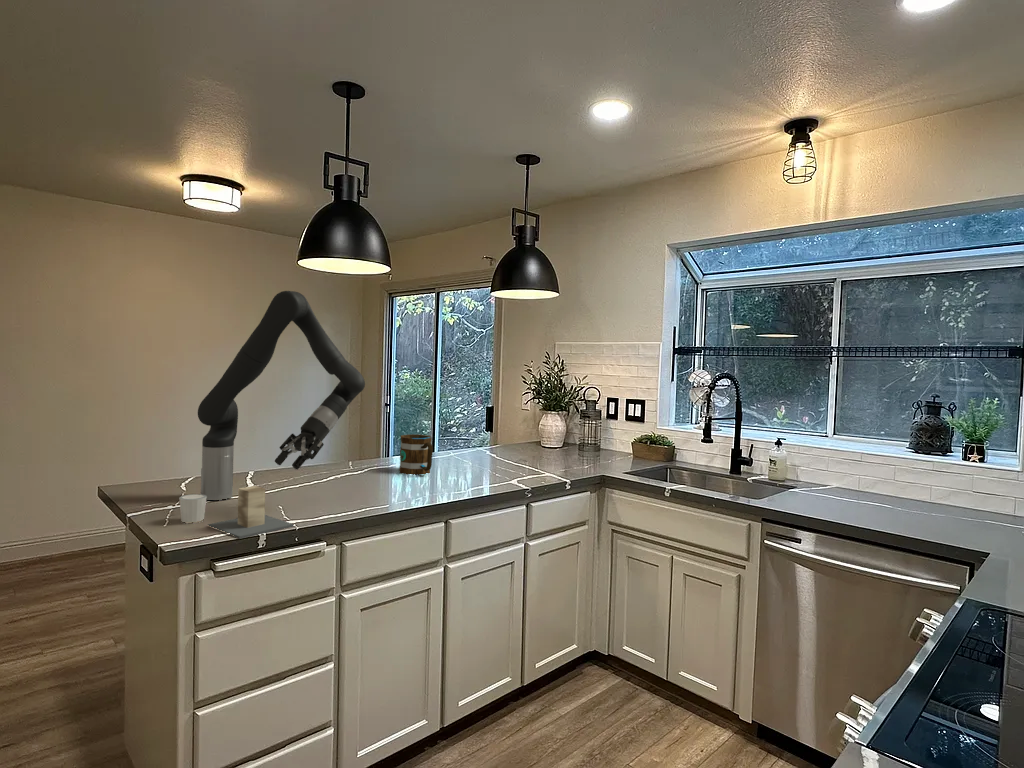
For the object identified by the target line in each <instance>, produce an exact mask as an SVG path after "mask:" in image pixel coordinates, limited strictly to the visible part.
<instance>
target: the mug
mask: <svg viewBox="0 0 1024 768" xmlns="http://www.w3.org/2000/svg"><path fill="white" fill-rule="evenodd" d="M399 449H400V451H399V456H400V457H399V460H400V461H399V469H398V470H399V471H400V472H399V471H398V472H399V474H402V473H404V475H408V474H413V475H412V476H420V475H419V474H424V475H427V474H426V473H428V474H430V473H431V468H432V465H433V464H432V462H433V452H434V451H433V450H434V447H433V445H432V436H431V435H426V434H409V433H408V434H402V435H400V448H399ZM414 474H415V475H414ZM417 474H418V475H417Z"/></svg>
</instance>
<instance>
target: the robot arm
mask: <svg viewBox="0 0 1024 768" xmlns="http://www.w3.org/2000/svg"><path fill="white" fill-rule="evenodd" d="M291 322H293V323H294V324H295V325H296V327H298V328H299V329H300V331H301V332H302V333H303V335H304V337H305V338H306V340H307V342H308V344H309V346H310V348H311V351H312V353H313V354H314V356H315V358H316V360H317V361H318V362H319V363H320V365H322V367H323V369H324V370H325V371H326V372H327V373H328V374H329V375H331V376H332V375H334V376H335V377H336V378H337V379H338V380H339V382H338V383H337V385H336V386H335V387H334V389H333V390H332V391H331V393H330V394H329V395H328V396H327V397H326V398H325V399H324V400H323V402H321V404H320V405H319V406H318V407H317V408H316V409H315V410H314V411H313V412H312V413H311V415H310V416H309V417H308V418H307V419H306V420H305V422H304V423H303V424H302V425H301V427H300V433H299V434H298V435H296V434H294V433H291V434H290V435H289V436H288V437H287V438H286V439H285V440H284V442H282V444H281V445H280V446H279V449H280V451H281V452H280V453H279V455H278V456H277V457H276V458H275V460H274V462H275V464H277V466H281V465H282V464H283V463H284V462H285V461H286V459H287V458H288V457H289V456H290V455H291V454H293V453H297V452H300V454H299V455H298V457H296V459H295V460H294V461H293V462H292V464H291V466H292V468H293V469H294V470H296V471H297V470H299V469H300V468H301V467H302V465H303V464H304V463H305V462H306V461H308V460H309V459H310V460H313V459H315V457H317V455H318V454H319V451H321V449H322V448H323V446H325V443H324V442H323V441H324V439H325V438H326V437H327V436H328V435H329V433H330V432H331V431H332V429H333V428H334V427H335V425H336V424H337V422H339V419H340V418H341V417H342V416H343V414H344V413H345V412H346V410H347V409H348V406H349V405H350V404H351V403H352V401H354V399H355V398H356V397H357V396H358V395H359V394H360V393H361V392H363V390H365V386H366V381H365V379H364V376H363V375H362V373H361V372H360V371H359V370H358V369H357V368H356V367H354V365H353V364H351V363H350V362H349V361H348V360H346V358H345V357H344V355H343V354H342V353H341V351H340V350H339V348H338V347H337V346H336V345H335V343H334V341H332V340H331V338H330V337H329V336H328V334H327V333H326V331H325V330H324V328H323V326H322V325H321V323H320V322H319V320H318V318H317V317H316V315H315V313H314V310H313V309H312V307H311V305H310V303H309V302H308V300H307V298H306V296H305V295H303V294H302V293H300V292H298V291H295V290H294V291H293V290H283V291H279V292H278V293H276V294H275V295H274V296H273V298H272V300H271V301H270V303H269V305H268V307H267V309H266V311H265V313H264V314H263V316H262V318H261V320H260V321H259V323H258V325H257V326H256V328H255V329H253V331H252V333H251V334H250V335H249V336H248V338H247V339H246V341H245V343H244V344H243V345H242V346H241V348H240V349H239V351H238V353H237V354H236V355H235V357H234V358H233V359H232V361H231V363H230V364H229V366H228V367H227V369H226V370H225V371H224V372H223V375H222V376H221V377H220V379H219V381H218V382H217V383H216V384H215V385H214V387H213V388H212V389H211V390H210V391H209V392H208V393H207V395H206V396H205V397H204V398H203V399H202V401H201V402H200V403H199V405H198V408H197V417H198V418H197V419H198V420H199V422H200V423H201V424H203V425H205V426H208V427H210V428H209V431H208V432H207V433H206V434H205V435H204V436H203V437H202V449H201V450H202V451H201V453H202V454H201V468H200V494H203V495H206V496H207V498H206V501H207V500H219V501H223V500H222V499H226V500H228V499H227V498H230V499H231V497H232V496H233V487H234V451H235V450H234V449H235V445H234V444H235V439H236V437H237V433H238V423H239V422H238V421H239V420H238V419H239V407H238V404H237V403H236V401H235V398H236V397H237V396H238V395H239V394H240V393H241V392H242V391H243V390H245V389H246V388H247V387H248V386H249V385H251V384H252V383H253V382H254V381H255V380H256V379H258V378H259V377H260V375H261V374H262V373H263V372H264V371H265V369H266V367H267V366H268V364H270V362H271V360H272V358H273V355H274V354H275V353H274V352H275V350H276V346H277V343H278V341H279V338H280V337H281V335H282V333H283V332H284V331H285V329H287V327H288V326H289V325H290V324H291ZM232 498H233V497H232Z"/></svg>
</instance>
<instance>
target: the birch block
mask: <svg viewBox="0 0 1024 768" xmlns="http://www.w3.org/2000/svg"><path fill="white" fill-rule="evenodd" d="M237 492H238V497H237V498H238V499H237V518H238V524H239V525H242V526H244V527H247V528H249V527H253V526H258V525H262V524H264V522H265V515H266V511H265V510H266V488H263V487H260V486H257V485H253V486H252V485H251V486H246V487H239V488H238V491H237Z"/></svg>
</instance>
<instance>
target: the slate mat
mask: <svg viewBox="0 0 1024 768" xmlns="http://www.w3.org/2000/svg"><path fill="white" fill-rule="evenodd" d="M207 525H209V526H211V527H214V528H217V529H219V530H222V531H225V532H227V533H230V534H232V535H234V536H235V537H234V536H233V537H234V538H236V537H237V538H236V539H239V540H240V539H245V538H248V537H249V538H250V537H253V536H257V535H262V534H266V533H270V532H275V531H278V530H283V529H286V528H292V527H294V523H291V522H287V521H285V520H282V519H280V518H276V517H273V516H269V515H266V514H265V522H264V524H262V525H258V526H253V527H249V528H247V527H244V526H242V525H239V524H238V517H237V518H233V519H232V518H231V519H227V520H223V521H218V522H211V523H207Z"/></svg>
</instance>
